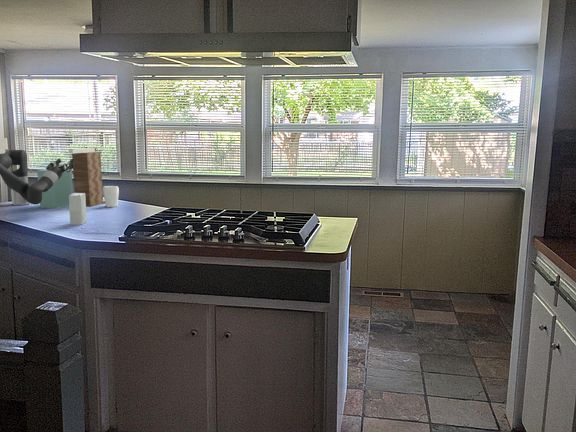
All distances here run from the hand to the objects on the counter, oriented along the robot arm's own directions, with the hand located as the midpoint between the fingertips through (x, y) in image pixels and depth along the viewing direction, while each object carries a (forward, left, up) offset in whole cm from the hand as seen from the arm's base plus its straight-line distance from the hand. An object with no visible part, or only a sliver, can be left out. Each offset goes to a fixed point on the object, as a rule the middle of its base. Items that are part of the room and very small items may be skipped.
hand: (66, 160), depth 297 cm
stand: (+16, +12, -29) cm, 35 cm away
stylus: (+12, +10, +3) cm, 16 cm away
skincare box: (-11, -49, -29) cm, 58 cm away
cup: (+24, -3, -29) cm, 37 cm away
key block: (-1, +20, -29) cm, 35 cm away
